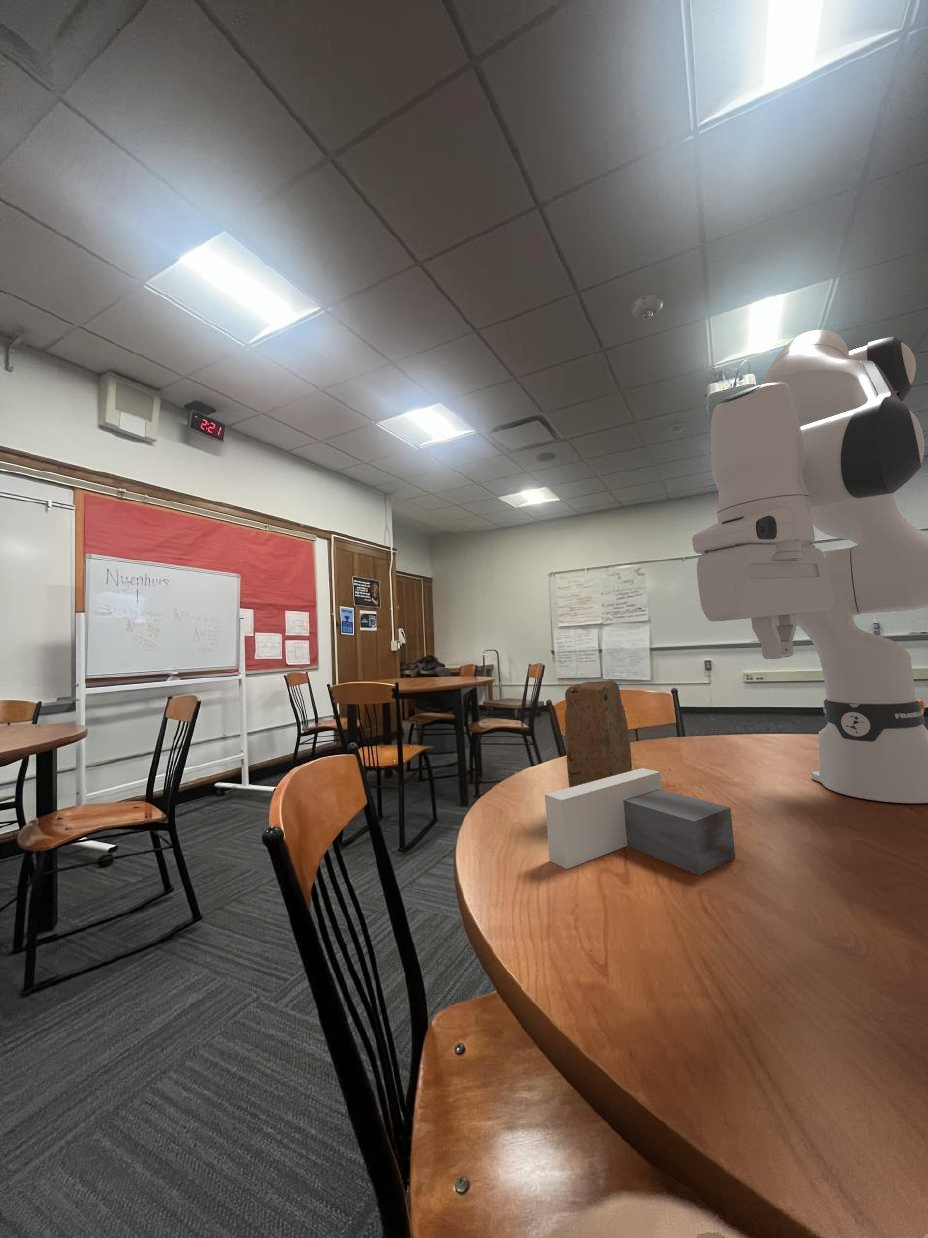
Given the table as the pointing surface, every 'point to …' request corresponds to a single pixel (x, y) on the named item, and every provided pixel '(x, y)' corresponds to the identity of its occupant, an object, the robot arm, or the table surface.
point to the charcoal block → (680, 830)
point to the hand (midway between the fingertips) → (778, 657)
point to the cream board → (593, 816)
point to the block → (595, 732)
